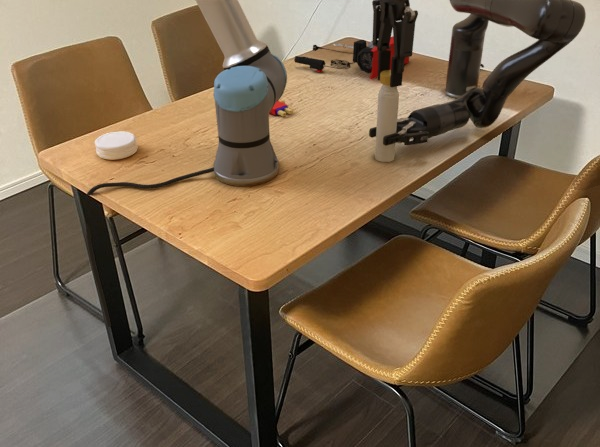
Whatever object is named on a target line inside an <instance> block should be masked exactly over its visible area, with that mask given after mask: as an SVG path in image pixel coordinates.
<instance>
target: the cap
mask: <svg viewBox="0 0 600 447" xmlns="http://www.w3.org/2000/svg"><path fill="white" fill-rule="evenodd" d="M390 78H391V70H384V71H382V72H381V74H380V81H379V83H380V84H381V85H389V86H390Z"/></svg>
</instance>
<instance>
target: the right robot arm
mask: <svg viewBox="0 0 600 447" xmlns="http://www.w3.org/2000/svg"><path fill="white" fill-rule="evenodd" d="M449 4H450V6H451V7H452V9H453V10H454V11H455V12H457V13H461V14H463V13H464V14H469V15H468V16H467V17H466V18H464V19H462V20H461V21H459V22H456V23H455V24H454V25H453V26H452V29H451V35H450V36H451V37H450V45H449V46H450V47H449V54H448V55H449V56H448V64H447V71H446V80H445V88H444V94H445V95H446V96H448V97H449V98H453V99H454V100H451V101H447V102H443V103H438V104H433V105H429V106H426V107H422V108H418V109H415V110H413V111H411V113H410V114H409V115H408V116H407V117H401V118H397V129H396V133H394V134H390V135H387V136H384V138H383V145H385V146H387V145H391V144H394V143H395V144H403V145H404V146H413V145H420V144H426V143H428V141H429V139H430V138H434V137H437V136H441V135H444V134H446V133H448V132H450V131H453V130H457V129H460V128H463V127H465V126H466V125H467V124H468V123H469V121H471V123H472V124H473V125H474V126H475V127H477V128H478V129H486V128H488V127H490V126H491V125H493V124H495V122H496V121H497V119H498V118H499V117H500V114H502V110H503V108H504V106H505V104H506V102H507V99H508V97H510V96H511V95H512V93H514V91H515V90H516V89H517V88H518V87H519V85H520V84H521V83H522V82H523V81H524V80H525V79H526V78H527V77H528V76H530V74H532V73H534V71H535V70H536V69H538V68H539V67H540V66H542V65H543V64H544V63H546V62H547V61H548V60H550V59H551V58H552V57H554V56H555V55H556V54H558V53H559V52H560V51H562V50H563V49H564V48H565V47H566V46H568V45H570V43H571V42H573V41H574V40H575V39H576V37H578V35H579V34H580V33H581V31H582V29H583V27H584V26H585V22H586V16H587V15H586V14H587V12H586V9H585V6H584V5H583V4H582V3H580V2H578V1H576V0H449ZM489 22H492V23H493V24H496V25H499V26H502V27H506V28H513V27H515V28H516V29H518V30H519V31H521V32H522V33H523V34H526V35H527V36H528V37H531V38H533V39H534V40H535V39H536V41H534V42H533V43H532V44H530V45H528V46H527V47H524V49H523V48H522V49H521V50H519V51H517V52H515V53H513V54H511V55H510V56H508V57H506V58H504V59H503V60H501V61H500V62H499V63H498V64H497V65H496V66H495V67H494V69H493V70H492V71H491V72H490V73H489V74H488V76H487V77H486V78H485V80H484V81H483V82H482V87H478V86H479V78H480V72H481V68H482V69H483V68H485V65H484V64H483V63H482V58H483V53H484V52H483V51H484V44H485V37H486V32H487V29H488V26H489ZM376 128H377V126H374V127H370V128H369V131H368V136H369V137H370V138H376Z"/></svg>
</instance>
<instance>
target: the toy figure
mask: <svg viewBox="0 0 600 447" xmlns="http://www.w3.org/2000/svg"><path fill="white" fill-rule="evenodd" d="M269 114H271V115H273V116H281V117H286V116H287V114H288V115H291V114H294V109H292V108H289V106H288V104H287V103H286V101H285V100H281V99H279V100H278V101H277V102H276V104H275V105H274V106H273V108H272V109H271V111H270V112H269Z"/></svg>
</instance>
